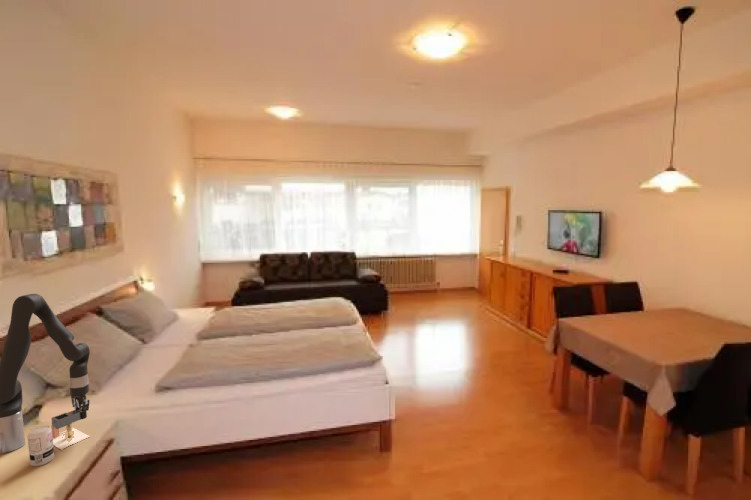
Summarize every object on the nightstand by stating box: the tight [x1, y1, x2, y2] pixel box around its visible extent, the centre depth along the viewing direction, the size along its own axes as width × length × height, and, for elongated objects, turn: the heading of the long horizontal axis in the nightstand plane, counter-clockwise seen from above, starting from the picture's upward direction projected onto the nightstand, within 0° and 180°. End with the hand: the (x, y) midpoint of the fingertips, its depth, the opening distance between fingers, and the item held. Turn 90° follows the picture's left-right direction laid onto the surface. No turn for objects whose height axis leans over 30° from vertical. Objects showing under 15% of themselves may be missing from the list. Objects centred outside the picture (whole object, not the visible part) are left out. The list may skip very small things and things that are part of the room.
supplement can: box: [27, 425, 55, 467], centre depth 172 cm, size 8×8×15 cm
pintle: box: [65, 424, 73, 438], centre depth 191 cm, size 2×2×8 cm
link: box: [51, 408, 88, 430], centre depth 187 cm, size 12×6×4 cm, turn 150°
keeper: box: [50, 425, 60, 438], centre depth 195 cm, size 10×2×6 cm, turn 164°
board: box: [53, 427, 91, 451], centre depth 190 cm, size 12×18×1 cm
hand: (81, 417), depth 191 cm, fingers closed on link, 4 cm apart
